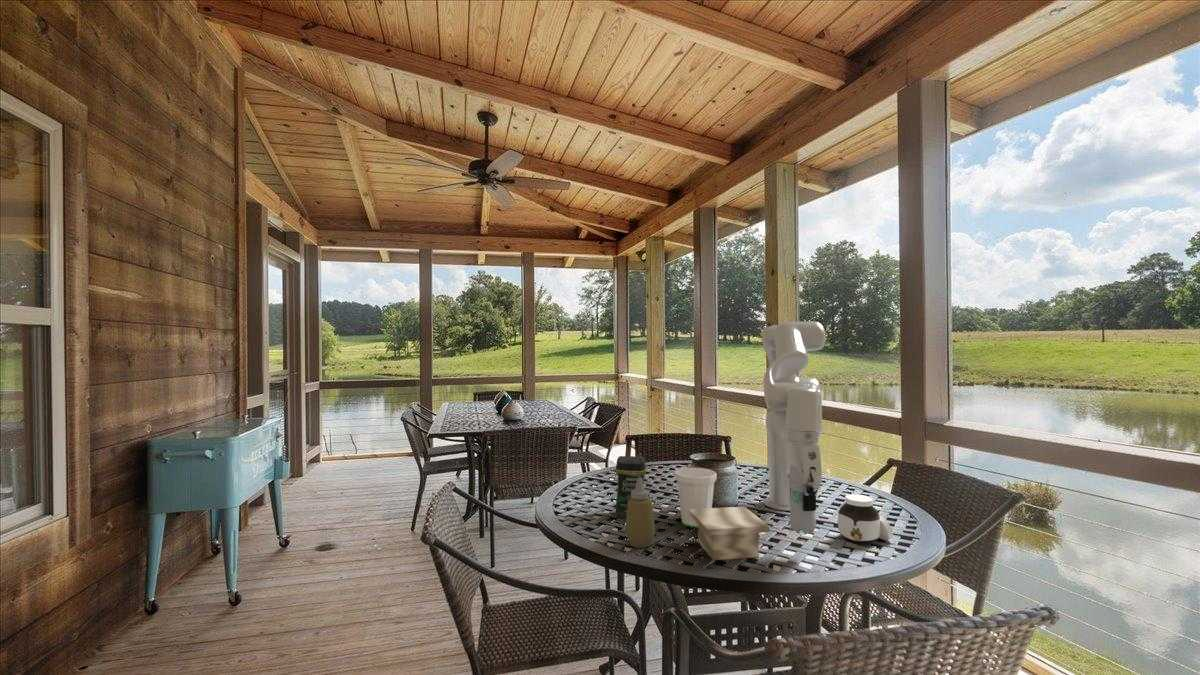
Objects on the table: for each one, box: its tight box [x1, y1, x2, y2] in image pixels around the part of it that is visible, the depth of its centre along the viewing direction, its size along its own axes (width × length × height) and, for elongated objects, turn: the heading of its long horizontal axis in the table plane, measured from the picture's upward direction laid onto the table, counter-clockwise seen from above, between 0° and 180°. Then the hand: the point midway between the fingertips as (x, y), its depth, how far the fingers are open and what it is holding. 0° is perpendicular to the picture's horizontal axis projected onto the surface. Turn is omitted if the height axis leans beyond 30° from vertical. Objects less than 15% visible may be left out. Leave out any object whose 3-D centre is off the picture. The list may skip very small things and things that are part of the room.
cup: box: [674, 467, 718, 529], centre depth 164 cm, size 12×12×15 cm
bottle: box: [789, 465, 817, 536], centre depth 138 cm, size 7×7×20 cm
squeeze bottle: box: [624, 478, 656, 549], centre depth 148 cm, size 8×8×18 cm
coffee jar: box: [615, 455, 647, 519], centre depth 172 cm, size 10×8×19 cm
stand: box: [689, 506, 770, 561], centre depth 143 cm, size 16×16×8 cm
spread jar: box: [837, 494, 894, 546], centre depth 150 cm, size 12×11×12 cm
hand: (802, 505), depth 138 cm, fingers closed on bottle, 5 cm apart
